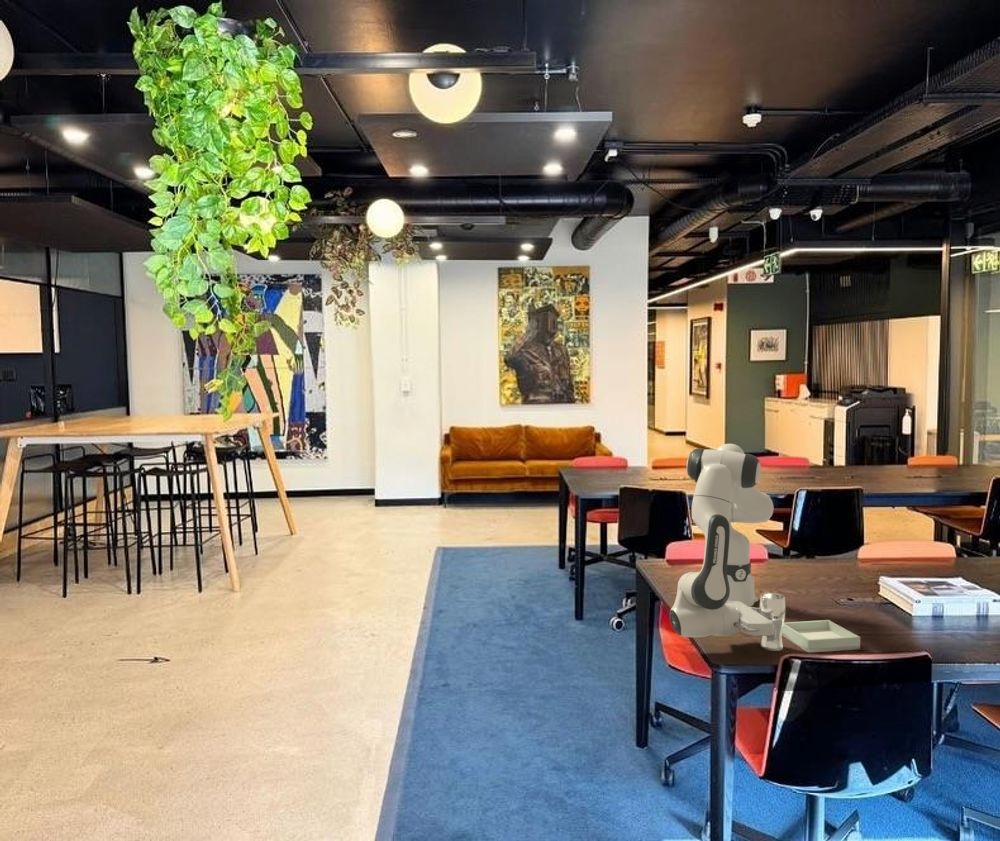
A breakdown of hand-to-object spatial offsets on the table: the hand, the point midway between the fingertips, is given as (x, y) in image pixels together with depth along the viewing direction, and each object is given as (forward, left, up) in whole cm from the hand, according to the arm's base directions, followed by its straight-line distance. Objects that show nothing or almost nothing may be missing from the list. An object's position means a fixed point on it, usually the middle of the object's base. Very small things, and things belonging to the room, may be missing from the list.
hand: (772, 616), depth 207 cm
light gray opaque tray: (-2, +16, -9) cm, 18 cm away
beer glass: (0, 0, -9) cm, 9 cm away
